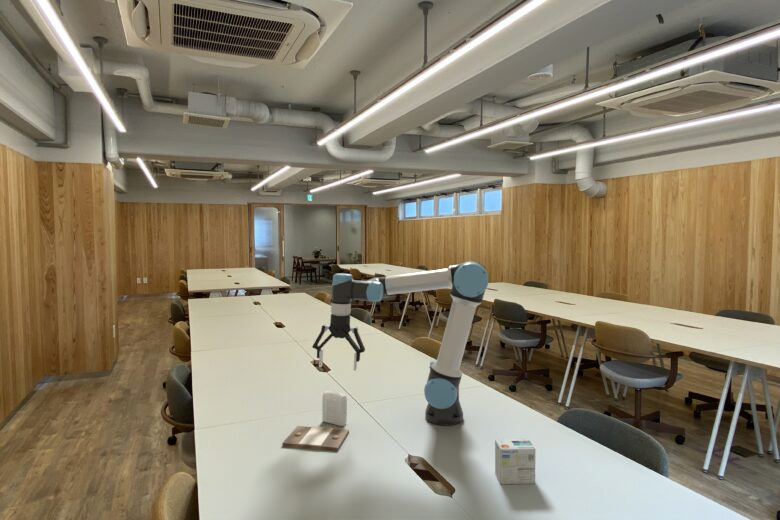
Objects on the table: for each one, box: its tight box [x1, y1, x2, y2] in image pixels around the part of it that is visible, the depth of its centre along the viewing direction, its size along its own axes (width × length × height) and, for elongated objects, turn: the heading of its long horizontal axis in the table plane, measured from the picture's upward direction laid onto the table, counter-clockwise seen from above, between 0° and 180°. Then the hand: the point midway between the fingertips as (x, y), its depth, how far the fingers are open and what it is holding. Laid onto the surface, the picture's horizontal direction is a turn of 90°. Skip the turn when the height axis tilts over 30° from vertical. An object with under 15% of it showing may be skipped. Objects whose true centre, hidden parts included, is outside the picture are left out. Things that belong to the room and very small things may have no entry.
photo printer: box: [321, 390, 348, 427], centre depth 171 cm, size 10×4×12 cm, turn 60°
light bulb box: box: [494, 438, 536, 485], centre depth 131 cm, size 11×7×11 cm, turn 92°
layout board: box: [281, 425, 350, 452], centre depth 156 cm, size 20×14×2 cm
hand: (337, 368), depth 169 cm, fingers open, 13 cm apart
